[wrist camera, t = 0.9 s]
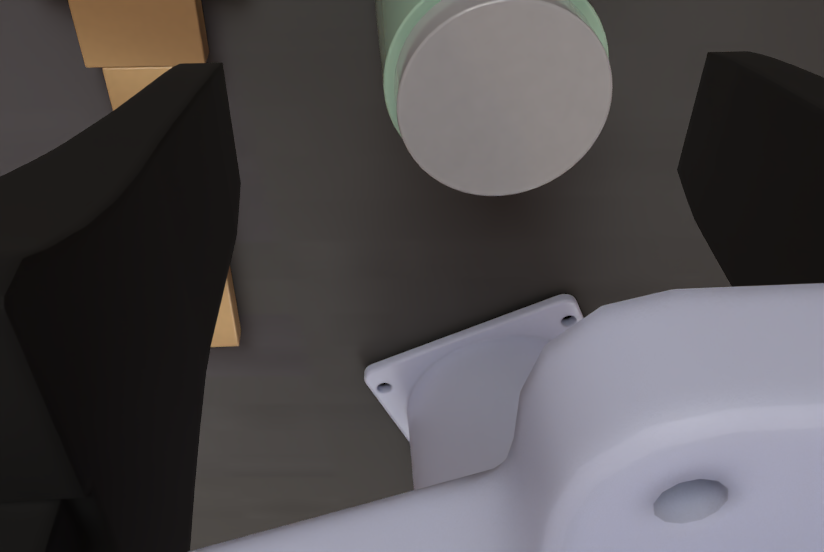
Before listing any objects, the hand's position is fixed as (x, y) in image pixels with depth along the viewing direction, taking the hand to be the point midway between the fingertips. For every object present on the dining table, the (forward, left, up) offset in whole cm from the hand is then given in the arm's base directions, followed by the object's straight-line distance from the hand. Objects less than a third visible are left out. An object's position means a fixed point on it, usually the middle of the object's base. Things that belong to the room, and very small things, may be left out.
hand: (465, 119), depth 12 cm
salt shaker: (-1, -1, -9) cm, 10 cm away
